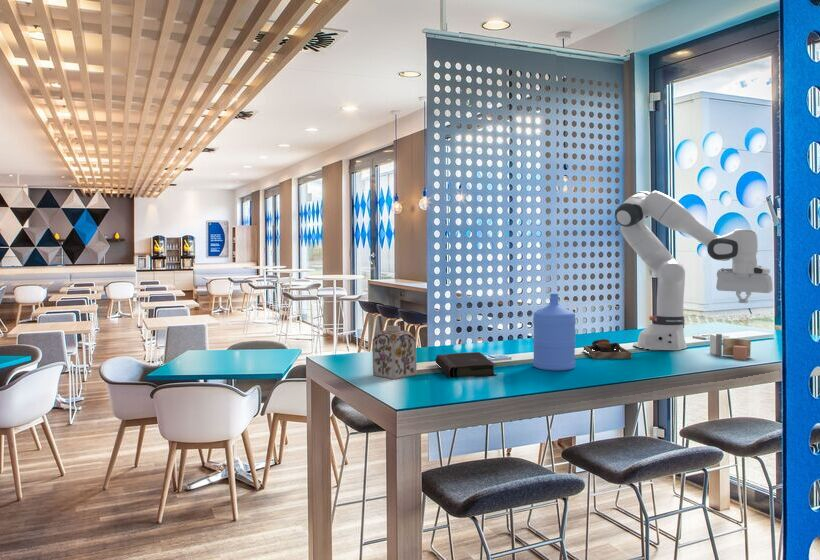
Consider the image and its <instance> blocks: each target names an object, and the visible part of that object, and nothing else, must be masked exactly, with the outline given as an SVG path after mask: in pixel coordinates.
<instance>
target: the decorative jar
mask: <svg viewBox="0 0 820 560" xmlns="http://www.w3.org/2000/svg"><path fill="white" fill-rule="evenodd" d="M386 328H387V329H386V330H381V331H379V332H378V333H376V335H375V336H374V337H373V338H372V375H373V376H376V377H379V378H384V379H389V380H393V381H395V380H396V381H397V380H399V379H404V378H409V377H413V376H416V375H417V369H418V368H417V362H418V361H417V339H416V337H415V336H414V335H413V334H412V333H411V331H408V330H404V329H401V325H388V326H387V327H386Z"/></svg>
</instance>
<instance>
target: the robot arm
mask: <svg viewBox="0 0 820 560" xmlns="http://www.w3.org/2000/svg"><path fill="white" fill-rule="evenodd" d="M649 217H651V218H653V219H654V220H655V221H657V222H658V223H659V224H661V225H662V226H664V227H666V228H668V229H670V230H673V231H674V232H675V231H676V232H679V233H683V234H686V235H689V236H690V237H692V238H694V239H695V240H697V242H699V243H701V244H702V245H704V246H705V247H706V248H707V249H706V251H707V254H708V255H709V256H710V258H712V259H713V260H716V261H720V262H721V261H726V262H727V261H730V260H732V264H731V265H732V266H731V268H724V267H723V268H720V269H718V270H717V272H716V278H717V279H716V285H715V286H716V287H715V288H716V290H717V291H721V292H735V295H736V297H737V298H738V303H739V304H748V302H749V298H750V297H751V295H752V293H756V294H757V293H758V294H759V293H761V294H762V293H763V294H770V293H772V292H773V279H772V276H771V275H770V272H771V269H770V268H768V267H765V266H762V265H758V260H757V254H758V248H759V247H758V236H757V234H756V232H755V231H753V230H750V229H746V228H736V229H734V230H733V231H731V232H729V233H727V234H724V235H719V234H718V233H717V234H716V233H715V232H713V231H712V230H710V229H709V228H707V227H706V226H704V225H703V224H702V223H700V222H699V221H698V220H697V219H696V218H695V217H694V216H693V215H692V213H690V211H689V210H688V209H687V208H686V207H685V206H684V205H682V204H681V202H678V201H677V200H676V199H674V198H672V197H671V196H670V195H667V194H666V193H663V192H660V191H657V190H653V191H652V192H649V191H646V190H642V191H638V192H635V193H634V194H632V195H631V196H630V197H628V198H626V200H625V201H623V202H622V203H621V204H620V205H619V206H618V207H617V208H616V210H615V212H614V218H615V221H616V222H617V224H618V225H619V226H620V230H619V231H620V233H621V234H622V236H623V238H624V240H625V241H626V242H627V243H628V245H629V246H630V247H631V248H632V250H633V251H634V252H635V253H636V254H637V255H638V257H639V258H640V259H641V260H642V261H643V263H644V264H645V265H646V266H647V267H648V269H649V270H650V271H651V272H652V273H653V274H654V275H655V277H657V290H656V291H657V292H656V314H655V315H654V316H652V315H649V316H648V319H649V321H651V322H652V323H651V324H650V325H649V326H646V328H644V329H643V330H642V331H640V333H639V335H638V340H637V342H633V343H632V346H633V345H635V346H638V347H641V348H645V349H644V350H646V349H649V350H653V351H682V350H685V349H687V344H686V340H685V331H684V330H685V323H686V322H685V316H684V297H685V296H684V295H685V285H686V284H685V283H686V282H685V281H686V280H685V279H686V270H685V268H684V266H683V265H682V263H680V262H678V261H677V259H675V258H674V256H673V255H672V254H671V253H670V251H669V250H668V249H667V248H666V246H665V245H664V244H663V242H662V241H661V240H660V239H659V238H658V237H657V236H656V234H654V232H653V231H652V230H651V229H650V228H649V227H648V225H646V221H645V220H646V219H647V218H649ZM742 293H745V295H746V296H745V298H743V297H742V296H741V295H742Z"/></svg>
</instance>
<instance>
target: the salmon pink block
mask: <svg viewBox="0 0 820 560" xmlns="http://www.w3.org/2000/svg"><path fill="white" fill-rule="evenodd" d="M748 358H749V357H748V346H741V345H735V346H733V356H732V359H734V360H742V361H745V360H747V359H748Z"/></svg>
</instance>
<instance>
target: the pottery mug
mask: <svg viewBox="0 0 820 560" xmlns="http://www.w3.org/2000/svg"><path fill="white" fill-rule="evenodd" d="M610 341H611V340H609V339H608V338H607V339H605V338H603V339H601V338H600V339H596V340H594V341H592V342H591V346H592V347H591V350H592V349H593V350H595V351H600V352H619V350H620V348H621V347H622V346H621V347H620V345H621V344H619V343H618V342H610ZM610 346H611V347H610ZM615 346H617V348H616V350H614V348H615Z"/></svg>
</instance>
